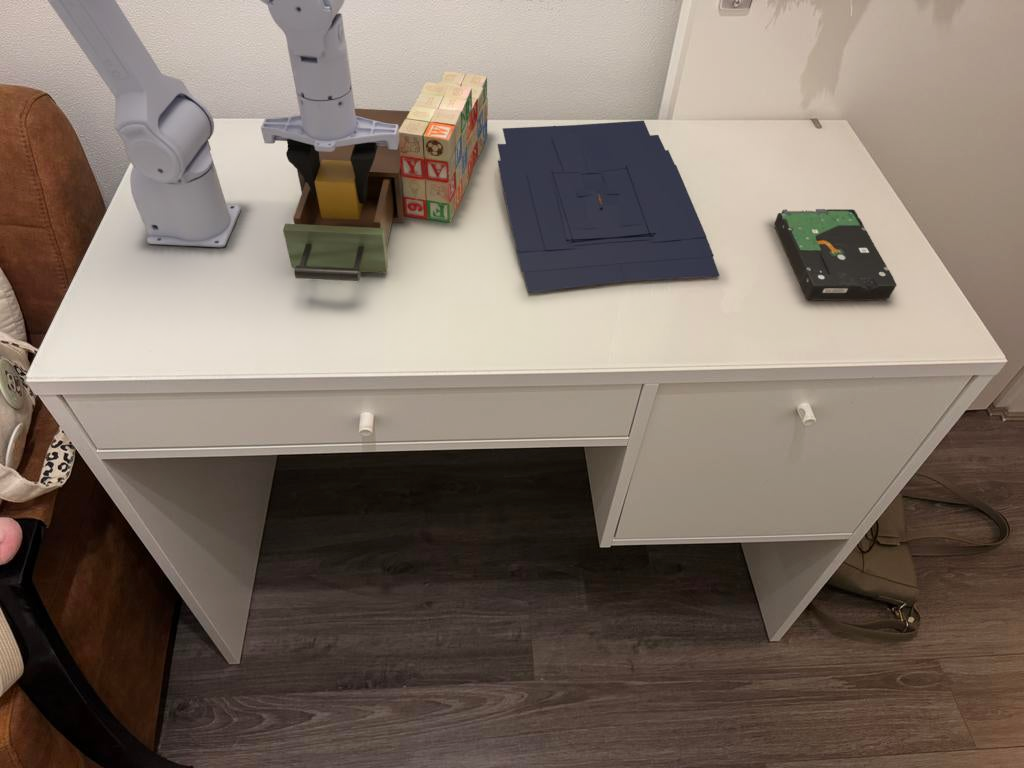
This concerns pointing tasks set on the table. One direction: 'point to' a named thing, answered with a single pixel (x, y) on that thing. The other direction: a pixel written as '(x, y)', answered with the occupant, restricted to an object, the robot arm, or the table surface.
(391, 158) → the cabinet
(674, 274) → the navy folded towel
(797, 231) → the disk drive
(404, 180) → the stack of blocks
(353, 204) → the block
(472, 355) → the table surface
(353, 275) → the drawer
